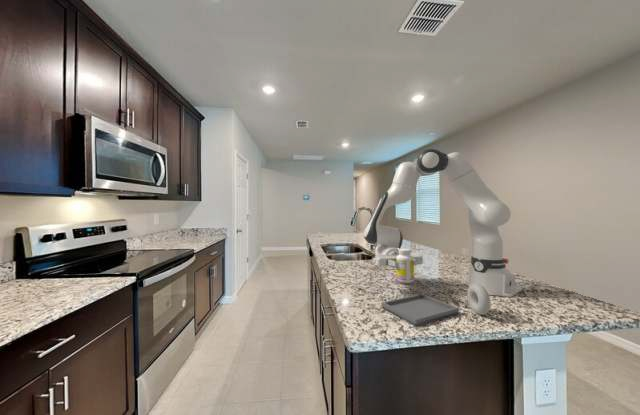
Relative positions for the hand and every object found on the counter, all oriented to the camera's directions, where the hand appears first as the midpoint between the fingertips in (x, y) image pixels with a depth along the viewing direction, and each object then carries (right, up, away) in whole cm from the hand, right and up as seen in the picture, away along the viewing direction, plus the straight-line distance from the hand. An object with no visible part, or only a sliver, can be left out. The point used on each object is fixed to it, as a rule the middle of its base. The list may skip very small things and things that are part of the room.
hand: (405, 263), depth 102 cm
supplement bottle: (0, -7, +1) cm, 7 cm away
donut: (+19, -14, -16) cm, 29 cm away
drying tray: (0, -14, -13) cm, 19 cm away
